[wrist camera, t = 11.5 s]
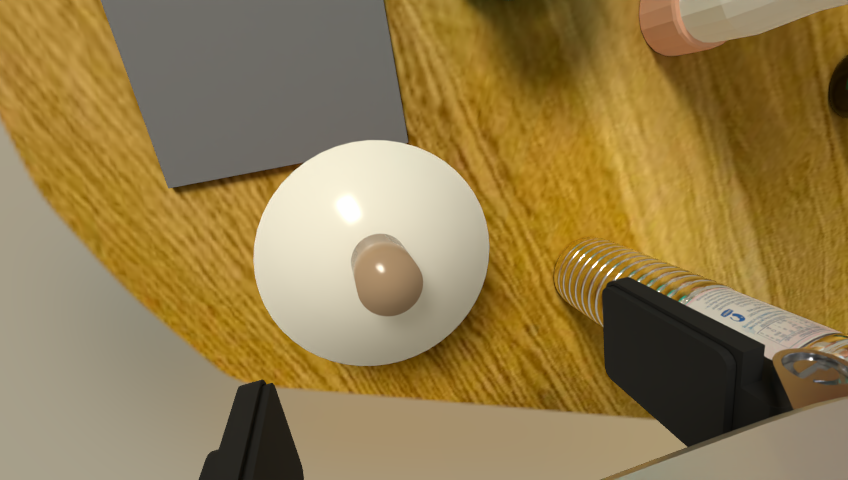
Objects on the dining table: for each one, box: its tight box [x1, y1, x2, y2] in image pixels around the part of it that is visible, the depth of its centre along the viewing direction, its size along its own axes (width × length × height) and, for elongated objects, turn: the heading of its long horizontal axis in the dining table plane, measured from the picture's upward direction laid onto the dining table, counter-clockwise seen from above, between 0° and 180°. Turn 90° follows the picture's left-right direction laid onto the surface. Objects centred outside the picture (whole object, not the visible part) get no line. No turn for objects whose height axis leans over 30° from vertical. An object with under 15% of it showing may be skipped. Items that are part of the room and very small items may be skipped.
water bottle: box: [554, 237, 848, 361], centre depth 27 cm, size 7×7×25 cm
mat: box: [101, 0, 408, 188], centre depth 27 cm, size 17×17×1 cm
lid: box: [254, 140, 489, 366], centre depth 25 cm, size 15×15×5 cm
